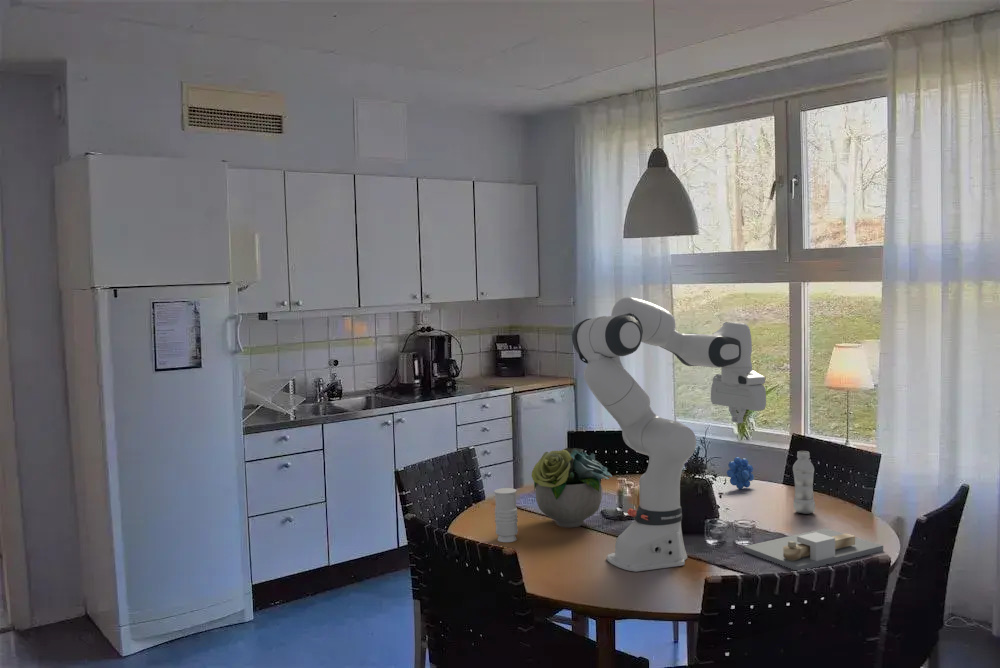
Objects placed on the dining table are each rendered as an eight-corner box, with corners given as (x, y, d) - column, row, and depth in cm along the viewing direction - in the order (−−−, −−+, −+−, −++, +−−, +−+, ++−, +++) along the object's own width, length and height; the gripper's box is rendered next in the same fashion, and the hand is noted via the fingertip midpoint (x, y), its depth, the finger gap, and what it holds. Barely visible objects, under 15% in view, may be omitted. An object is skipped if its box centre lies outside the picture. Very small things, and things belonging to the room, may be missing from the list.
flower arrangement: (565, 509, 288) (563, 438, 287) (624, 522, 271) (622, 447, 269) (514, 526, 271) (511, 450, 270) (573, 541, 253) (571, 460, 252)
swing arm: (792, 560, 223) (792, 551, 223) (779, 556, 227) (779, 547, 227) (857, 545, 234) (857, 536, 234) (844, 541, 238) (844, 532, 237)
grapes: (735, 493, 302) (734, 460, 301) (723, 489, 308) (722, 457, 307) (761, 489, 306) (760, 456, 305) (749, 485, 312) (748, 453, 312)
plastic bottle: (813, 516, 270) (812, 454, 269) (791, 514, 273) (790, 453, 272) (817, 511, 275) (816, 451, 274) (795, 509, 279) (794, 449, 278)
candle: (506, 534, 262) (505, 486, 262) (523, 538, 257) (521, 490, 257) (490, 539, 258) (489, 491, 257) (507, 544, 253) (505, 494, 252)
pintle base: (798, 572, 220) (797, 547, 220) (744, 551, 238) (743, 528, 238) (883, 550, 235) (883, 527, 234) (826, 533, 252) (825, 511, 252)
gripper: (705, 374, 259) (706, 419, 260) (752, 379, 241) (753, 428, 242) (721, 372, 262) (722, 417, 263) (769, 378, 244) (770, 425, 245)
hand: (737, 422), depth 252 cm, fingers closed
